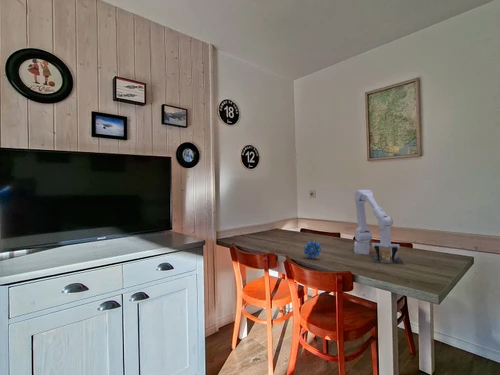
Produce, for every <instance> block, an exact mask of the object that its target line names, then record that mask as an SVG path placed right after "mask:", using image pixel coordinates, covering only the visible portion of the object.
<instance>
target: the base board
mask: <svg viewBox="0 0 500 375" xmlns="http://www.w3.org/2000/svg"><path fill="white" fill-rule="evenodd" d="M370 256H371V258H372V260H373V261H374V263H376V264H377V263H379V264H386V263H387V265H389V264H392V265H400V264H401V265H404V262H402V261H401V259H400V258H397V259H394V260H392V258H390V261H385V260H382V256H380V259H378V256H377V255H376V256H375V255H370Z"/></svg>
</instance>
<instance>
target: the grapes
mask: <svg viewBox="0 0 500 375" xmlns="http://www.w3.org/2000/svg"><path fill="white" fill-rule="evenodd" d="M320 252H322V247H321V243H320V242H317V241H316V240H312V241H307V243H306V244H305V245H304V246H303V254H304V255H305V256H306V258H307V259H309V258H311V260H314V259H315V258H316V257H318V258H319V256H320Z"/></svg>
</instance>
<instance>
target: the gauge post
mask: <svg viewBox="0 0 500 375" xmlns="http://www.w3.org/2000/svg"><path fill="white" fill-rule="evenodd" d="M390 259H392V248H390ZM394 259H395V260H396V259H397V260H398V251H397V252H396V254H395V256H394Z"/></svg>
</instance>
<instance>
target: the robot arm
mask: <svg viewBox="0 0 500 375" xmlns="http://www.w3.org/2000/svg"><path fill="white" fill-rule="evenodd" d="M354 201H355V208H356V216H357V228H356V229H355V230H354V238H355V241H354V246H353V247H354V249H353V252H354V254H356V255H369V254H370V242H371V240H372V239H373V235H372V232H371V229H370V228H369V227H368V226H367V216H366V208H365V207H366V206H365V204H366V202H367V203H368V204H369V206H370V207H371V208H372V209H373V210H372V213H373V215H374V216H375V217H376V219H377V225H378V228H379V231H380V232H379V240H380V242H372V243H371V245H372V247H373V248H374V249H375V252H376V257H377V256H378V257H377V258H378V260H379V259H380V258H381V256H380V248H390V249H391V248H392V258H391V259H392V261H395V260H394V256H395V254H396V252H397V253H398V249H400V244H398V243H397V244H395V243H392V242H391V240H392V236H391V235H392V234H391V231H392V229H391V228H392V226H393V224H394V221H393V218H392V217H391V216H389V215H387V213H386V212H385V210H384V208H382V207H381V206H379V205H378V203H377V202H376V200H375V198H374V192H373V191H372V190H371V189H357V190H356V191H355V192H354Z"/></svg>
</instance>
